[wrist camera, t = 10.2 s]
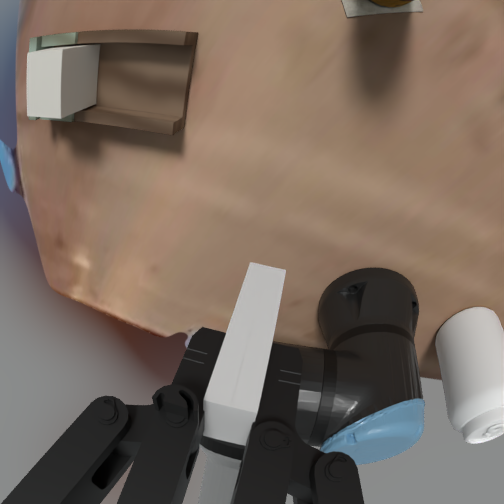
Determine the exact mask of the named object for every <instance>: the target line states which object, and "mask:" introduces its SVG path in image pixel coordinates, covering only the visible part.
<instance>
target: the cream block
mask: <svg viewBox="0 0 504 504" xmlns="http://www.w3.org/2000/svg"><path fill="white" fill-rule="evenodd" d="M99 53H100V44H86V45H69V46H61V47H55V48H49V49H44V50H39V51H34V52H30V53H28V54H27V116H33V117H46V118H58V119H61V118H64V117H66V116H68V115H71V114H73V113H75V112H78V111H80V110H82V109H85V108H87V107H90V106H92V105H95V104H96V98H97V78H98V64H99Z"/></svg>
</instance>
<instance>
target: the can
mask: <svg viewBox="0 0 504 504" xmlns="http://www.w3.org/2000/svg"><path fill="white" fill-rule="evenodd" d="M435 346H436V351H437V356H438V360H439V365H440V371H441V376H442V382H443V387H444V393H445V400H446V406H447V413H448V418H449V420H450V422H451V425H452V427H453V429H455V430H457V431H459V432H461V433H463V437H464V439H465V441H466V442H467V443H470V444H471V443H472V444H476V443H482V442H486V441H489V440H492V439H494V438H496V437H498V436H500V435H502V434H504V331H503V328H502V326H501V323H500V321H499V318H498V316H497V315H496V314H495V313H494V311H492V310H491V309H488V308H486V307H473V308H469V309H465V310H463V311H461V312H459V313H457V314H455V315H454V316H452V317H451V318H449V319H448V320H447V321H446V322H445V323H444V324H443V325H442V326H441V328H440V329H439V331H438V333H437V336H436V343H435Z"/></svg>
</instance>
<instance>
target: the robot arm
mask: <svg viewBox="0 0 504 504" xmlns="http://www.w3.org/2000/svg"><path fill="white" fill-rule="evenodd" d="M285 273H286V270H284V269H279V268H274V267H270V266H265V265H261V264H256V263H252V262H250V265H249V268H248V271H247V274H246V277H245V280H244V282H243V285H242V288H241V291H240V294H239V297H238V300H237V303H236V306H235V309H234V312H233V315H232V318H231V321H230V324H229V326H228V329H227V332H226V333H224V332H220V331H216V330H212V329H208V328H204V327H202V328H201V329H199V330H198V331H197V332H196V333H195V334H194V335H193V336H192V338H191V340H190V342H189V345H188V347H187V350H186V352H185V354H184V356H183V359H182V361H181V363H180V366H179V368H178V370H177V373H176V375H175V377H174V380H173V382H172V384H171V385H168V386H164V387H162V388H160V389H159V390H157V391H156V392H155V394H154V395H153V397H152V399H153V403H154V404H152V405H125V404H124V403H123V402H122V401H121V400H120V399H118V398H116V397H113V396H103V397H99V398H97V399H96V400H94V401H93V402H92V403H91V404H90V405H89V406H88V407H87V408H86V409H85V410H84V411H83V413H82V414H81V415H80V416H79V417H78V418H77V419H76V420H75V421H74V423H72V425H71V426H70V427H69V428H68V429H67V430H66V431H65V432H64V434H63V435H62V436H61V437H60V438H59V439H58V440H57V441H56V442H55V443H54V445H53V446H52V447H51V448H50V449H49V450H48V451H47V453H45V455H44V456H43V457H42V458H41V459H40V460H39V461H38V462H37V464H36V465H35V466H34V467H33V468H32V469H31V470H30V471H29V473H28V474H27V475H26V476H25V477H24V478H23V479H22V480H21V482H20V483H19V484H18V485H17V486H16V488H14V490H13V491H12V492H11V493H10V494H9V495H8V496H7V498H6V499H5V500H4V501H3V502H2V503H1V504H100V503H101V502H102V501H103V499H104V498H105V497H106V496H107V494H108V493H109V492H110V490H111V489H112V488H113V487H114V485H115V484H116V483H117V482H118V480H119V479H120V478H121V477H122V475H123V474H124V473H125V471H126V470H127V469H128V467H129V466H130V465H131V463H132V462H133V461H134V462H133V465H132V468H131V470H130V473H129V475H128V477H127V480H126V482H125V485H124V487H123V489H122V492H121V495H120V497H119V499H118V502H117V504H182V502H183V499H184V496H185V493H186V490H187V487H188V484H189V481H190V478H191V474H192V471H193V468H194V465H195V462H196V459H197V456H198V453H199V447H200V448H201V450H202V451H203V452H204V453H205V455H206V456H207V460H206V465H205V470H204V476H203V481H202V486H201V491H200V496H199V502H198V504H285V502H286V496H287V493H288V494H290V495H292V496H293V502H294V504H364V500H363V495H362V489H361V485H360V479H359V474H358V469H357V466H356V465H360V464H367V463H372V462H376V461H380V460H384V459H387V458H390V457H393V456H395V455H398V454H400V453H402V452H404V451H406V450H407V449H409V448H410V447H412V446H413V445H414V444H415V443H416V442H417V441H418V440H419V439H420V437H421V435H422V433H423V430H424V406H425V402H424V400H423V395H422V388H421V381H420V374H419V368H418V362H417V356H416V350H415V344H414V336H415V331H416V326H417V320H418V315H419V303H418V299H417V295H416V292H415V289H414V287H413V285H412V284H411V283H410V281H409V280H408V279H407V278H405V277H404V276H403V275H401V274H399V273H397V272H395V271H392V270H388V269H384V268H364V269H359V270H355V271H352V272H349V273H347V274H344V275H342V276H341V277H339V278H337V279H336V280H335V281H333V282H332V283H331V284H330V285H329V286H328V287H327V288H326V290H325V291H324V293H323V294H322V296H321V299H320V303H319V324H320V327H321V329H322V332H323V335H324V338H325V340H326V343H327V346H328V349H329V350H328V349H321V348H313V347H306V346H300V345H293V344H286V343H280V342H274V341H273V336H274V331H275V326H276V321H277V316H278V311H279V305H280V300H281V295H282V289H283V284H284V279H285ZM311 446H318V447H320V450H318V449H316V448H314V447H311Z"/></svg>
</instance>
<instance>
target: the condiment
mask: <svg viewBox="0 0 504 504" xmlns="http://www.w3.org/2000/svg"><path fill="white" fill-rule="evenodd" d="M342 3H343V6H344V9H345V12H346V15H347V17H353V16H361V15H370V14H381V13H396V12H419V11H423V8H422V5H421V2H420V0H342Z"/></svg>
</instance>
